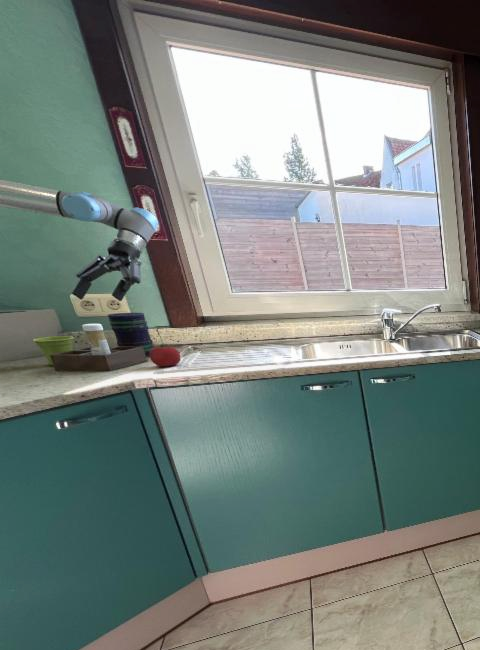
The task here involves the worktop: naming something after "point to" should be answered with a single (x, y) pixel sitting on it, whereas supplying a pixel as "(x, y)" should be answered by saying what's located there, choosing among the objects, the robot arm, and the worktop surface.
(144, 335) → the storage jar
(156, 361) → the tomato
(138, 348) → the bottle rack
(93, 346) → the sprinkles bottle
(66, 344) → the plant pot
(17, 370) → the worktop surface
